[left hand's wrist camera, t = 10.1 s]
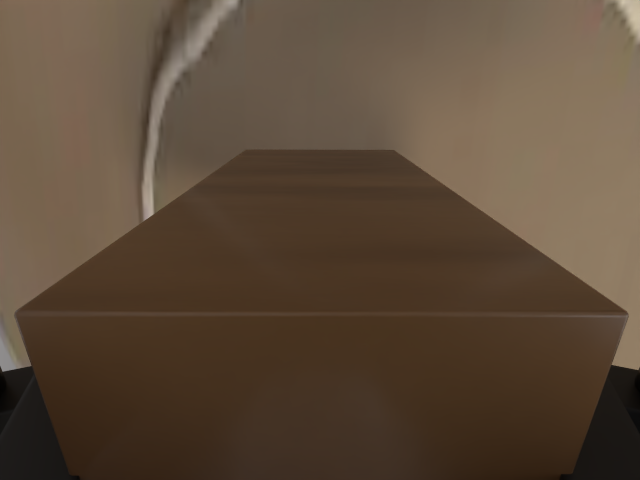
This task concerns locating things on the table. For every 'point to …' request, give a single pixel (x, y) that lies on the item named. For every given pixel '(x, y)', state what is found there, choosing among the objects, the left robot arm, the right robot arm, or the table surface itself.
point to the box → (320, 335)
